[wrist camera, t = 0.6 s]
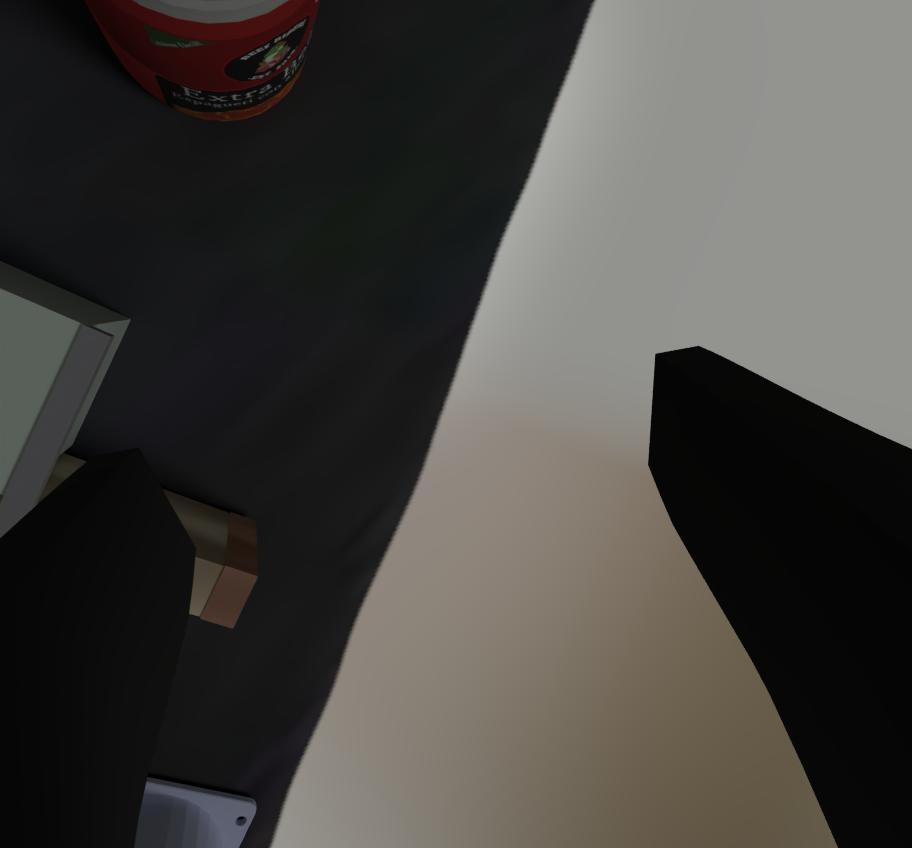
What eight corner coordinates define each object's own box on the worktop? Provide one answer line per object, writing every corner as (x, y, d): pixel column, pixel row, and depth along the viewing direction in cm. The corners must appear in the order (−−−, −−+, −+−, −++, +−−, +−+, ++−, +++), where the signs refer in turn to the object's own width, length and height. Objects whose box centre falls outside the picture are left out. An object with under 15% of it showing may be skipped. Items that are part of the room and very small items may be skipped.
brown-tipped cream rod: (236, 563, 29) (232, 628, 23) (-128, 441, 24) (-248, 485, 18) (256, 521, 29) (257, 576, 23) (-105, 390, 24) (-219, 419, 18)
